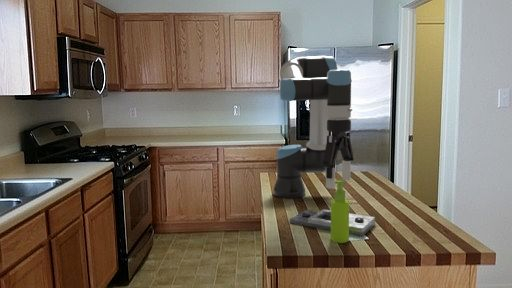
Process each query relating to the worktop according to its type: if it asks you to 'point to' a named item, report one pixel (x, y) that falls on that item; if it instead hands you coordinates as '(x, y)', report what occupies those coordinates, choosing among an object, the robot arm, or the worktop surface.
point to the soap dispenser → (340, 215)
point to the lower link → (305, 215)
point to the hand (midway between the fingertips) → (338, 184)
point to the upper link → (356, 222)
